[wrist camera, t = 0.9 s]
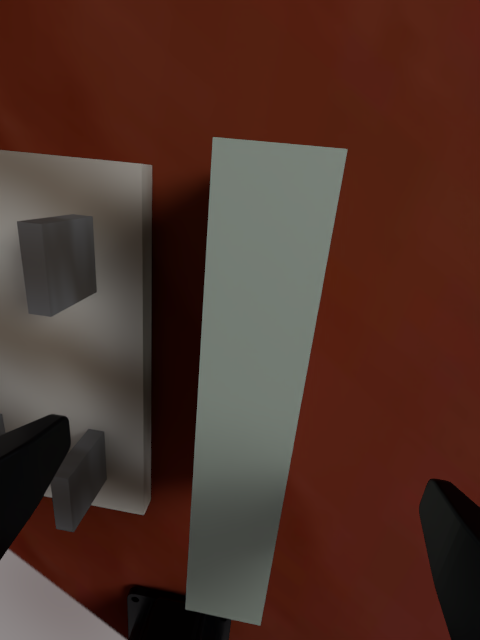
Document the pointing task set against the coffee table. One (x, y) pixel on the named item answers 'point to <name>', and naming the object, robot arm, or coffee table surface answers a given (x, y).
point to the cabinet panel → (79, 321)
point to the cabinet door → (254, 358)
